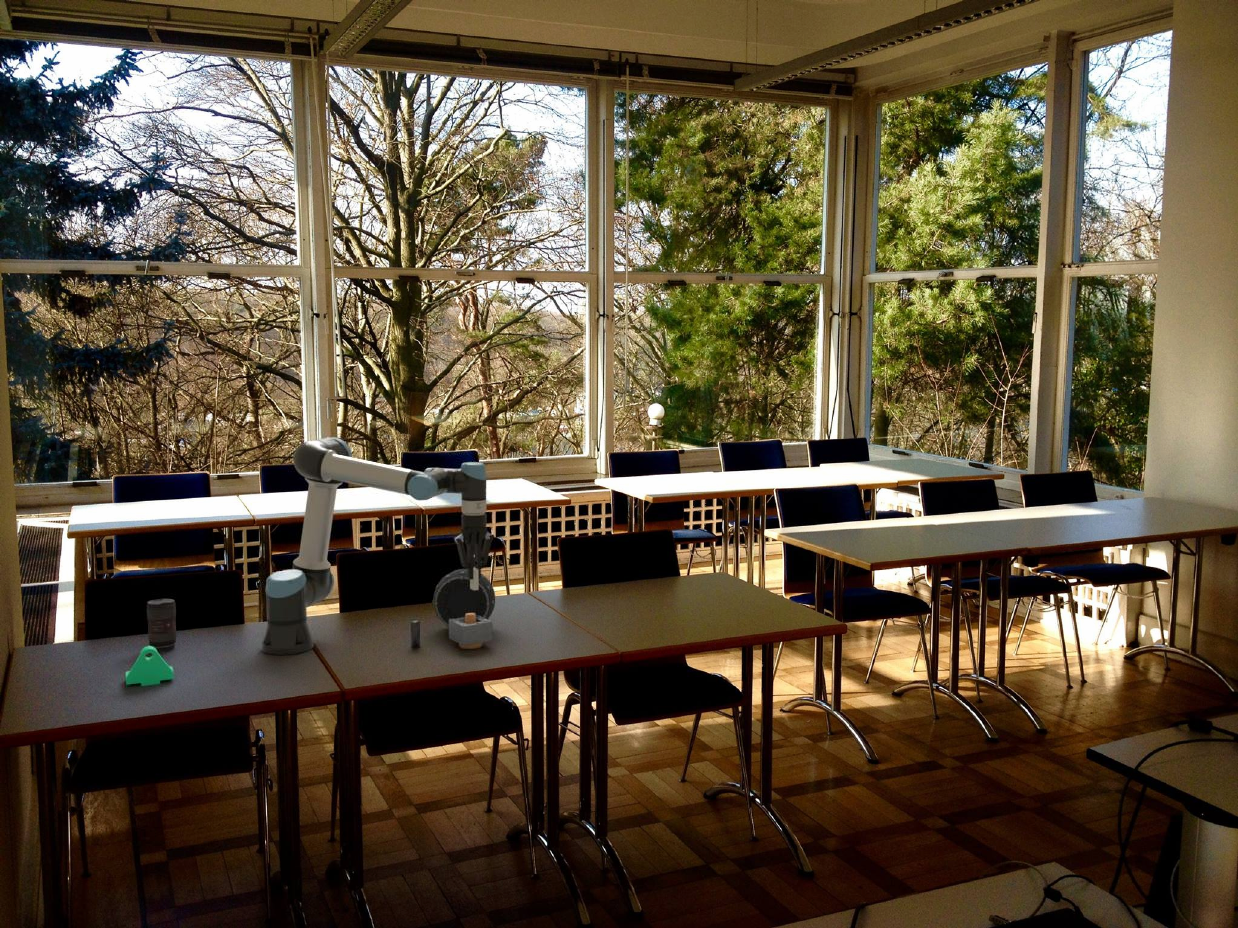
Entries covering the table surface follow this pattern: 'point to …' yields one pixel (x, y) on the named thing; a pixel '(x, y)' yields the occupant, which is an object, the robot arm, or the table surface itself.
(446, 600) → the dark grey round disc
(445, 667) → the table surface
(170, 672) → the camera mount
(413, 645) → the stand rod
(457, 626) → the open grey box
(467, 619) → the hub
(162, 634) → the dark grey cylinder
